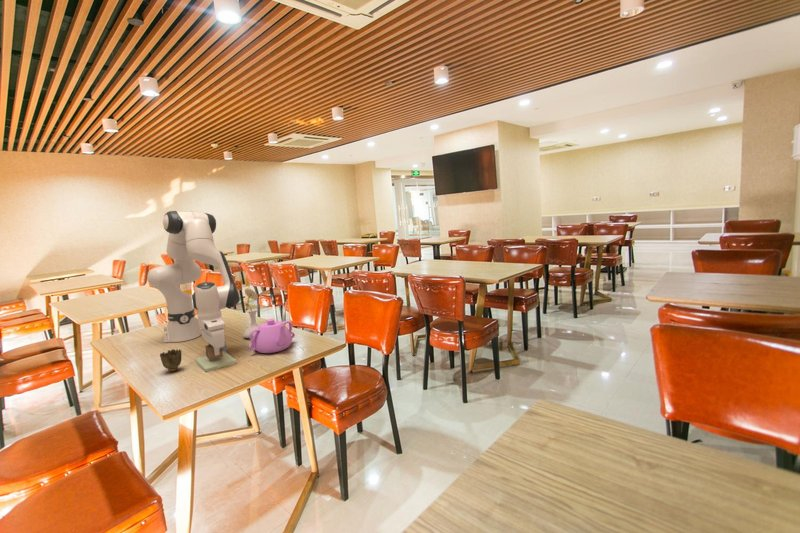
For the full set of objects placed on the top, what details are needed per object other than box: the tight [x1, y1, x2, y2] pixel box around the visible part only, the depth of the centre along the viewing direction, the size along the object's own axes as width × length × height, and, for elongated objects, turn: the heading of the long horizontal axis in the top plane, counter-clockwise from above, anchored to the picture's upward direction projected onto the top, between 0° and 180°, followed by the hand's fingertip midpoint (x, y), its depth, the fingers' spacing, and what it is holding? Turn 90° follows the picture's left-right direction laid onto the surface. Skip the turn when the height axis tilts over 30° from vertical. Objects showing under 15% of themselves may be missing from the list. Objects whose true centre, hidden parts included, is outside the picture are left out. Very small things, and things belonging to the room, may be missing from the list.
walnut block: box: [204, 344, 223, 360], centre depth 157 cm, size 5×5×5 cm
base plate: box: [194, 351, 238, 373], centre depth 157 cm, size 16×12×1 cm
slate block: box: [222, 341, 228, 353], centre depth 169 cm, size 5×5×5 cm
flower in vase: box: [242, 287, 260, 339], centre depth 188 cm, size 13×11×25 cm
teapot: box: [248, 318, 296, 354], centre depth 168 cm, size 22×22×14 cm
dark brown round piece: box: [159, 348, 182, 373], centre depth 150 cm, size 8×7×8 cm
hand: (214, 353), depth 157 cm, fingers closed on walnut block, 5 cm apart
